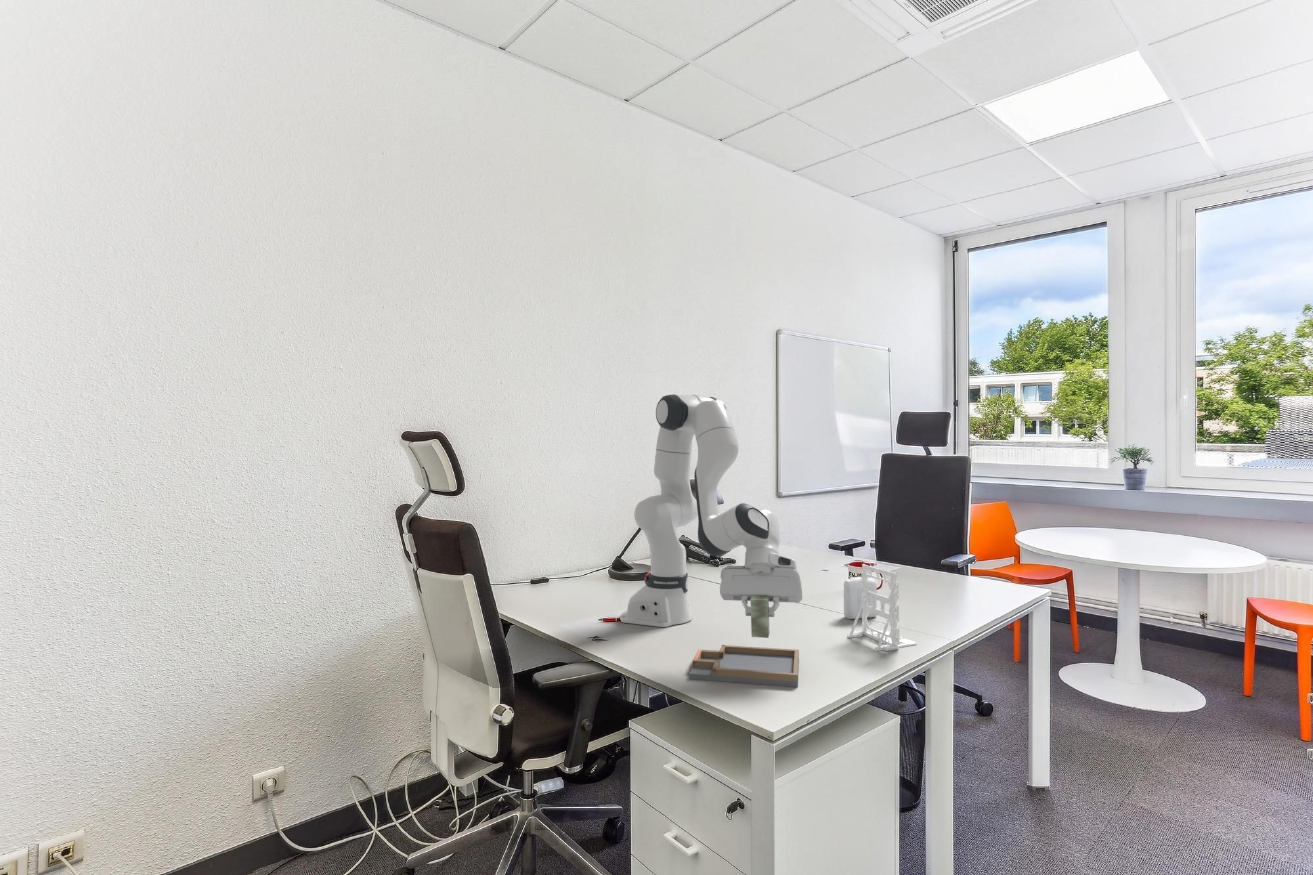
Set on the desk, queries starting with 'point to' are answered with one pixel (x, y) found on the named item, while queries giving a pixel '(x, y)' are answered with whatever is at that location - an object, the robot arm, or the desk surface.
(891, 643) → the white perforated frame
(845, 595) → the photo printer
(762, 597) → the green peg
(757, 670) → the keyhole dock
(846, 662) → the desk surface
